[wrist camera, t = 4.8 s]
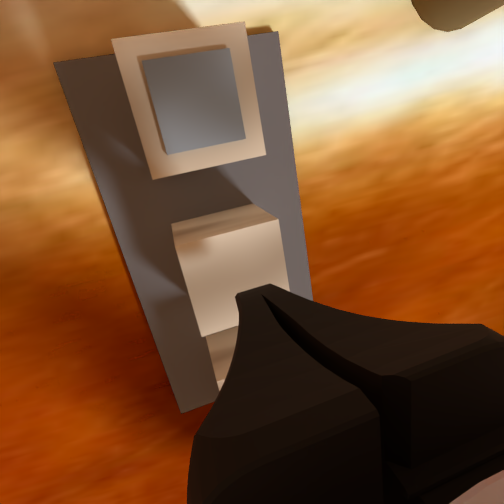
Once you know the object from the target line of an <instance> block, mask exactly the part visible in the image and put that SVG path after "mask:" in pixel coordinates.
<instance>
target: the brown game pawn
mask: <svg viewBox="0 0 504 504" xmlns="http://www.w3.org/2000/svg"><path fill="white" fill-rule="evenodd" d="M412 3H413V6H414V7H415V9H416V11H417V12H418V14H419V15H420V17H421V19H422V20H423V21H424V22H426V23H427V24H428V25H430V26H431V27H432V28H434V29H437V30H441V31H446V32H449V31H453V30H457V29H461V28H463V27H465V26H467V25H469V24H470V23H472V22H474V21H476V20H478V19H479V18H481V17H483V16H485V15H486V14H488V13H490V12H492V11H494V10H495V9H497V8H499V7H501V6H503V5H504V0H412Z"/></svg>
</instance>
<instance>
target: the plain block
mask: <svg viewBox="0 0 504 504" xmlns="http://www.w3.org/2000/svg"><path fill="white" fill-rule="evenodd" d="M171 225H172V232H173V238H174V244H175V249H176V252H177V255H178V259H179V262H180V265H181V269H182V272H183V276H184V279H185V282H186V286H187V289H188V293H189V296H190V299H191V303H192V306H193V309H194V313H195V316H196V320H197V323H198V326H199V330H200V333H201V337H204V336H207V335H210V334H213V333H216V332H219V331H222V330H225V329H228V328H231V327H234V326H238V324H239V312H238V308H237V304H236V300H235V296H236V294H237V293H239V292H243V291H246V290H249V289H253V288H256V287H259V286H263V285H266V284H269V283H270V284H273V285H276V286H278V287H280V288H282V289H285V290H287V291H289V292H290V289H289V282H288V276H287V270H286V263H285V257H284V251H283V245H282V238H281V232H280V226H279V219H278V218H276V217H274V216H273V215H271V214H269V213H268V212H266V211H264V210H263V209H261V208H260V207H258V206H256V205H255V204H249V205H245V206H241V207H237V208H233V209H229V210H225V211H221V212H217V213H213V214H209V215H205V216H201V217H197V218H193V219H188V220H184V221H180V222H176V223H172V224H171Z"/></svg>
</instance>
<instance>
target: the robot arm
mask: <svg viewBox="0 0 504 504" xmlns="http://www.w3.org/2000/svg"><path fill="white" fill-rule="evenodd" d="M235 300H236V304H237V308H238V312H239V324H238V333H237V340H236V345H235V350H234V354H233V358H232V361H231V364H230V367H229V370H228V373H227V376H226V378H225V381H224V383H223V385H222V388H221V390H220V392H219V394H218V396H217V398H216V400H215V402H214V404H213V406H212V408H211V410H210V412H209V413H208V415H207V416H206V418H205V420H204V421H203V423H202V425H201V426H200V428H199V430H198V431H197V433H196V434H195V436H194V440H193V445H192V452H191V458H190V465H189V473H188V485H187V504H504V336H502V335H500V334H499V333H497V332H495V331H493V330H491V329H490V328H488V327H486V326H484V325H482V324H433V323H418V322H405V321H395V320H388V319H381V318H375V317H369V316H363V315H359V314H354V313H350V312H346V311H342V310H338V309H335V308H332V307H329V306H325V305H322V304H319V303H317V302H314V301H311V300H309V299H306V298H303V297H301V296H299V295H296V294H294V293H292V292H289V291H287V290H285V289H282V288H280V287H278V286H276V285H273V284H270V283H269V284H266V285H263V286H259V287H256V288H253V289H249V290H246V291H243V292H239V293H237V294H236V296H235Z"/></svg>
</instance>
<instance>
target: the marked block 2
mask: <svg viewBox="0 0 504 504" xmlns="http://www.w3.org/2000/svg"><path fill="white" fill-rule="evenodd" d="M237 333H238V326H236V327H233V328H229V329H226V330H223V331H220V332H217V333H214V334H211V335H208V336H206V340H207V344H208V348H209V352H210V356H211V360H212V364H213V369H214V373H215V377H216V381H217V384H218V388H219V391H220V390H221V388H222V385H223V383H224V381H225V378H226V376H227V373H228V370H229V367H230V364H231V361H232V358H233V354H234V350H235V345H236V340H237Z"/></svg>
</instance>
